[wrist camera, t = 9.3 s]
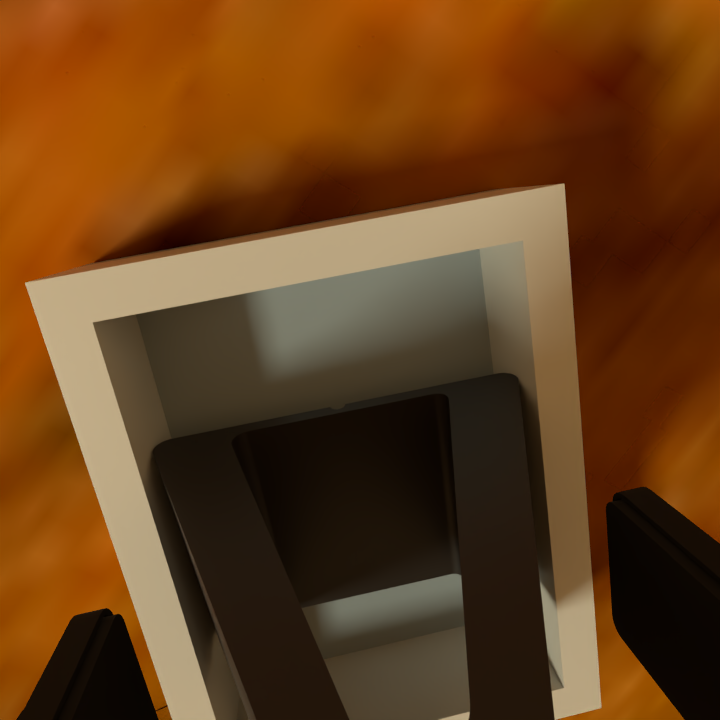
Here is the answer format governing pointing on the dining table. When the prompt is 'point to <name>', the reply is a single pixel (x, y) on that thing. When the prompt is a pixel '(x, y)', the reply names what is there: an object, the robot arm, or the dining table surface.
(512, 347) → the cream rectangular tray
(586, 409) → the dining table surface
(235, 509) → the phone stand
